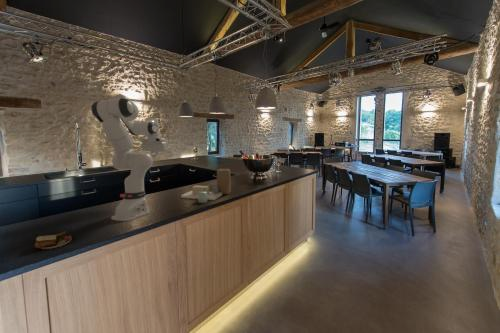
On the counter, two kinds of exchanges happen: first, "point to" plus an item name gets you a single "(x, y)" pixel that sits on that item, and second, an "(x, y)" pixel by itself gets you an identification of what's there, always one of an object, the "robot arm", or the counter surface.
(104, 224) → the counter surface
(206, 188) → the carton
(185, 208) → the counter surface
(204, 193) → the sage green capsule
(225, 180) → the wooden block
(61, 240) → the toy sandwich meal
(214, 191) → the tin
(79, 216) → the counter surface
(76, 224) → the counter surface
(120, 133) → the robot arm
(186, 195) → the white tray
